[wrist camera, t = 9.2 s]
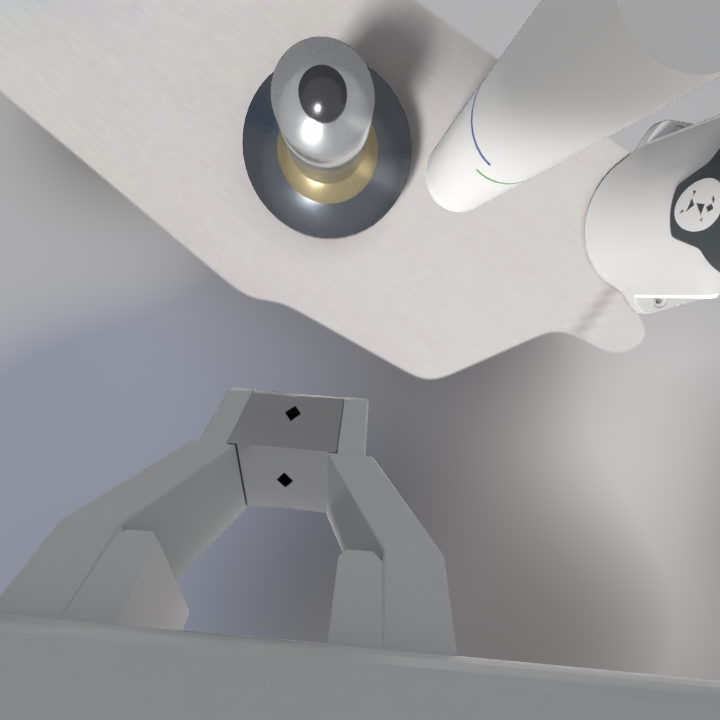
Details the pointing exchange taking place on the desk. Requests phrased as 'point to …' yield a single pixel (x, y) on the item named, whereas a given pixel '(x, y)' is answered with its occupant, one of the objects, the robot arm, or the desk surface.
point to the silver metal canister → (323, 107)
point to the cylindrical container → (572, 89)
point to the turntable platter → (328, 201)
